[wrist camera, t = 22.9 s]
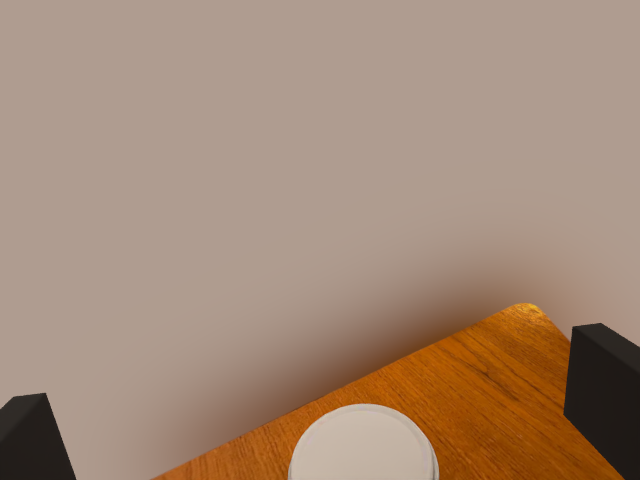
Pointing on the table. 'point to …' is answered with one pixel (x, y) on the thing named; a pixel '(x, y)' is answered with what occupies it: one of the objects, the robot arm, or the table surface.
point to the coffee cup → (363, 447)
